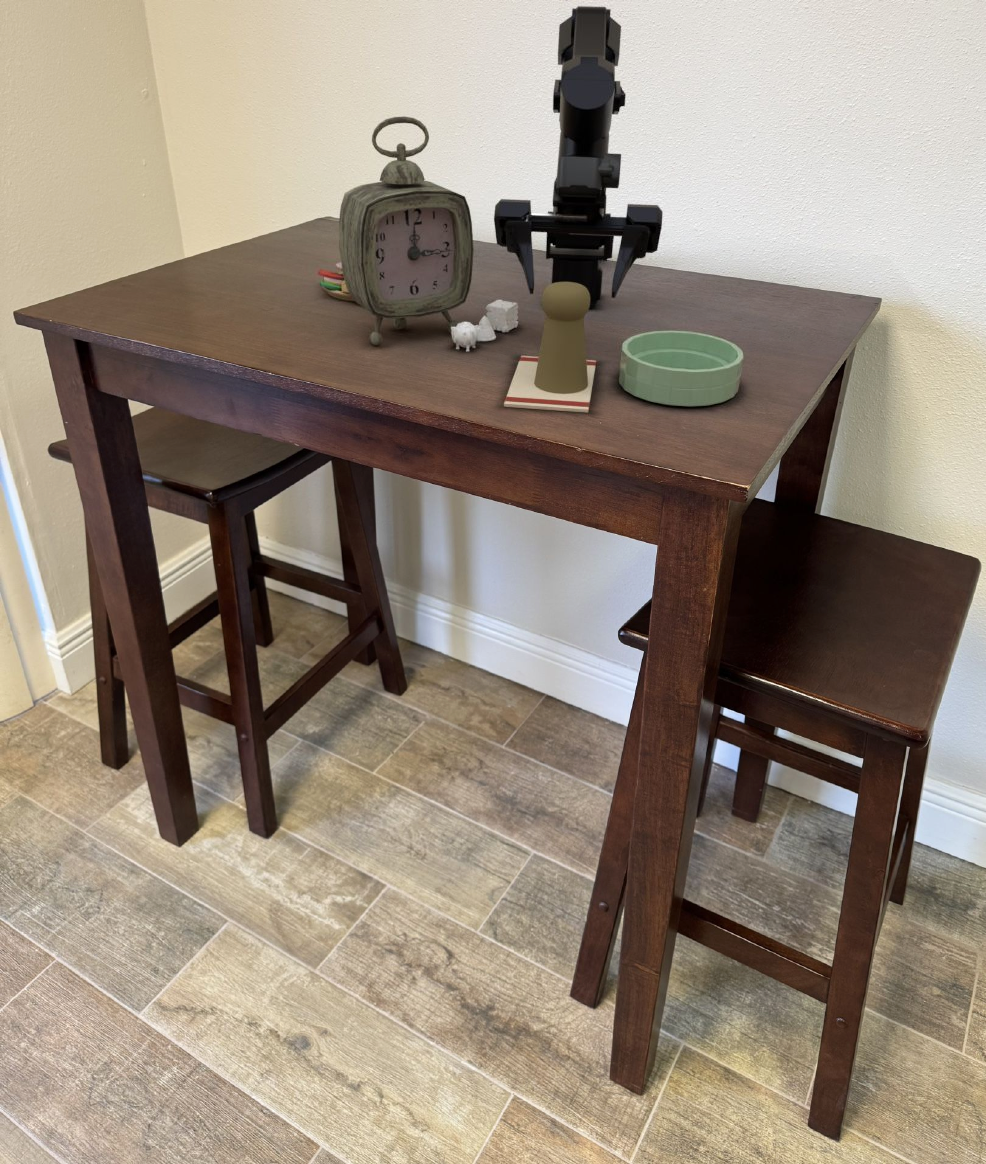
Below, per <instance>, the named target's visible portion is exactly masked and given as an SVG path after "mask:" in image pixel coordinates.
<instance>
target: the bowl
mask: <svg viewBox="0 0 986 1164" xmlns="http://www.w3.org/2000/svg"><path fill="white" fill-rule="evenodd" d="M744 358H745V357H744V353H743V350H742V349H741V348H740V347H739V346H737V344H735V343H733V342H731V341H728V340H727V339H725V338H721V337H718V336H715V335H712V334H707V333H702V332H695V331H687V330H655V331H648V332H643V333H638V334H635V335H633V336H630V337H628V338H627V339H625V341H623V343H622V344H621V355H620V367H619V377H618V383H619V385H620V386H621V387H622V388H623V390H624V391H625V392H627V393H629V394H631V395H632V396H634V397H636V398H639V399H642V400H645V401H647V402H652V403H657V404H661V405H665V406H666V405H667V406H676V407H677V406H678V407H680V406H681V407H703V406H704V407H705V406H712V405H715V404H721V403H725V402H726V401H728V400H730V399H732V398H734V397H735V396H736V394H737V393H738V391H739V388H740V382H741V376H742V369H743V366H744V365H743V364H744Z"/></svg>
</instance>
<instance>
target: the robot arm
mask: <svg viewBox="0 0 986 1164" xmlns="http://www.w3.org/2000/svg"><path fill="white" fill-rule="evenodd" d="M621 36H622V26H621V24H620V23H619V22H618V21H616V20H615V19H614V18H612V17H611V8H607V7H606V6H589V5H588V6H585V5H584V6H583V5H582V6H581V5H580V6H579V5H578V6H577V7H576V8H572V10H571V16H569V17H568V18H567V19H565V20H563V22H561V23H560V24H559V26H558V41H557V42H558V43H557V65H558V66H561V75H560V79H554V86H553V94H552V110H553V114H559V119H558V121H559V129H560V133H559V145H558V155H557V169H556V177H555V179H554V182H553V193H552V211H549V210H548V211H547V212H532V204H531V203H532V202H531V200H530V199H510V198H509V199H508V198H507V199H506V198H501V199H500V200H499V201H498V202H497V203H496V204H495V205H494V213H493V223H494V232H495V239H496V245H498V246H500V247H503V248H506V251H507V253H511V254H515V255H516V257H517V259H518V262H519V263H520V265H521V268H522V271H523V275H524V278H525V281H526V285H527V289H528V291H529V294H530V295H534V291H535V270H534V255H533V253H534V252H533V235H532V233H546V240H545V241H546V242H545V243H546V244H545V245H546V246H545V259H546V260H550V259H552V270H551V274H552V275H551V284H552V283H556V282H574V283H578V284H581V285H583V286H585V287H586V288H587V289H588V291H589V293H590V307H589V309H595V308H596V307H597V302H599V301H601V298H602V289H603V277H604V275H603V274H604V267H603V266H602V265H600V261H603V262H607V261H608V260H609V259H613V250H614V249H613V248H614V241H615V237H621V239H620V244H619V249H618V254H617V259H616V263H615V267H614V272H613V277H612V282H611V283H612V284H611V297H610V298H611V299H616V296H617V294H618V292H619V290H620V287H621V286H622V283H623V281H624V279H625V277H626V275H627V273H628V272H629V270H630V269H631V267H632V266H633V264H634V263H635V261H636V260H637V259H644V258H645V257H646V255H647V254H653V253H655V252H657V251H658V248H659V243H660V237H661V231H662V227H663V210H662V209H661V207H660V206H659V205H658V204H641V203H640V204H638V203H627V206H626V214H625V215H626V216H612V213H608V212H607V189H619V187H620V178H621V165H622V164H621V163H622V153H609V147H610V146H609V145H610V132H611V127H612V117H613V115H619V113H620V110H621V108H622V107H625V106H626V96H627V95H626V93H625V91H624V89H623V87H622V86H621V81H620V80H615V79H616V71H615V70H616V67H618V66H619V61H620V55H621V54H620V53H621V52H620V51H621ZM606 188H607V189H606ZM602 246H603V248H599V247H602Z"/></svg>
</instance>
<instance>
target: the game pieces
mask: <svg viewBox="0 0 986 1164" xmlns="http://www.w3.org/2000/svg"><path fill="white" fill-rule="evenodd" d="M519 307H520V306H519V304H518V303H517V302H516V301H515V302H513V301H507V300H503V299H496V300H495V301H493V302H490V303H487V305H486V307H485V311H486V314H484V315H483V316H482V317H481V318H480V319H479V322H478V324H476V325H474V324H473V323H471V322H470V321H461V322H458V324H457V326H456V327H451V330H452V332H450V334H451V339H452V341H453V343H454V344H455V346H456V347H455V350H460V347H462V348H465V349H466V350H465V352H470V351H471V350H470V347H471V348H472V349H476V348H477V347H476V343H477V342H491V341H495V340H496V338H497V335H496V334H495V331H498V332H501V333H509V331H511V330H512V329H514V328H517V327H518V324H519V321H518V319H519V317H518V315H519V314H518V313H519V310H518V309H519Z"/></svg>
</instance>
